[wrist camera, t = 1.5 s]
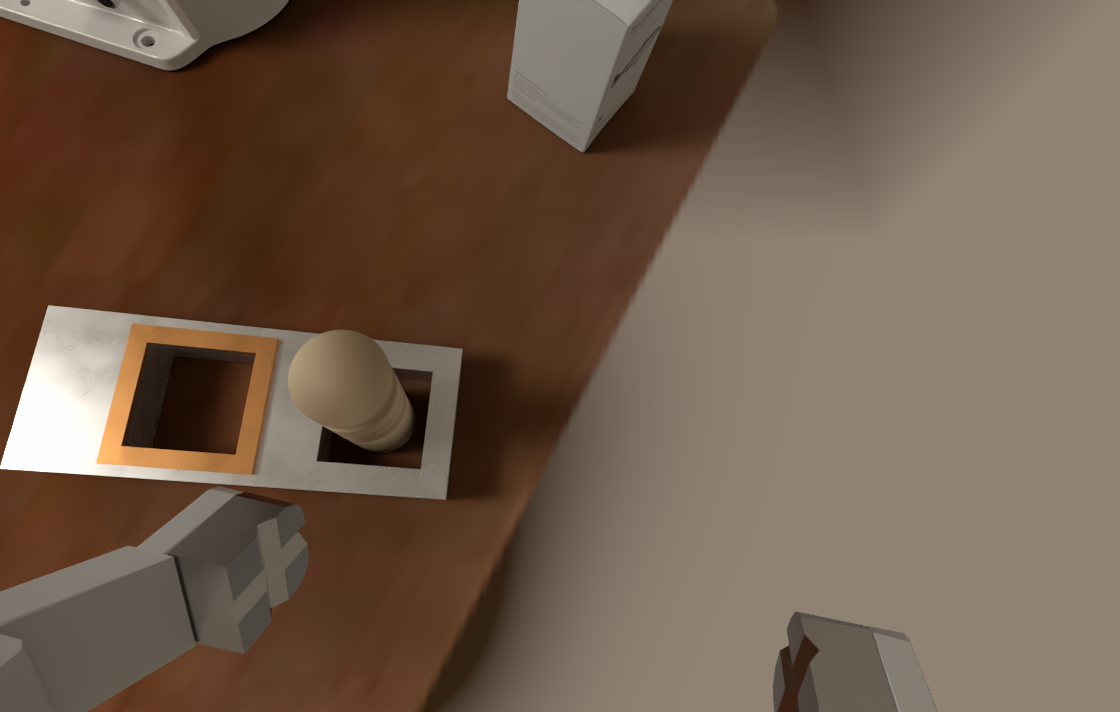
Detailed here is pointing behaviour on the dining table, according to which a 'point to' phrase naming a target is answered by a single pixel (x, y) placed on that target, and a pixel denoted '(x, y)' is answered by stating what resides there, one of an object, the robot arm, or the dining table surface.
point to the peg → (351, 390)
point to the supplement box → (580, 60)
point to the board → (268, 423)
